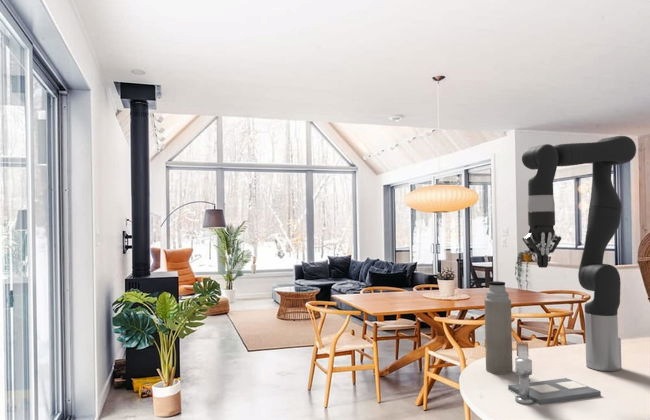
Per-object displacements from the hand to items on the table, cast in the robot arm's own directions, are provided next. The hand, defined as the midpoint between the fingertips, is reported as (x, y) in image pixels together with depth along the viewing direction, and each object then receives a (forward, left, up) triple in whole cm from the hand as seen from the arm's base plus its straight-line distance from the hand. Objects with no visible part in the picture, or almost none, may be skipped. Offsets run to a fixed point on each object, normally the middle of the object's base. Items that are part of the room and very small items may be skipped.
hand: (542, 267), depth 147 cm
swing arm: (+14, +8, -26) cm, 31 cm away
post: (+20, +15, -33) cm, 41 cm away
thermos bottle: (+9, -10, -33) cm, 36 cm away
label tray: (+8, +12, -33) cm, 36 cm away
